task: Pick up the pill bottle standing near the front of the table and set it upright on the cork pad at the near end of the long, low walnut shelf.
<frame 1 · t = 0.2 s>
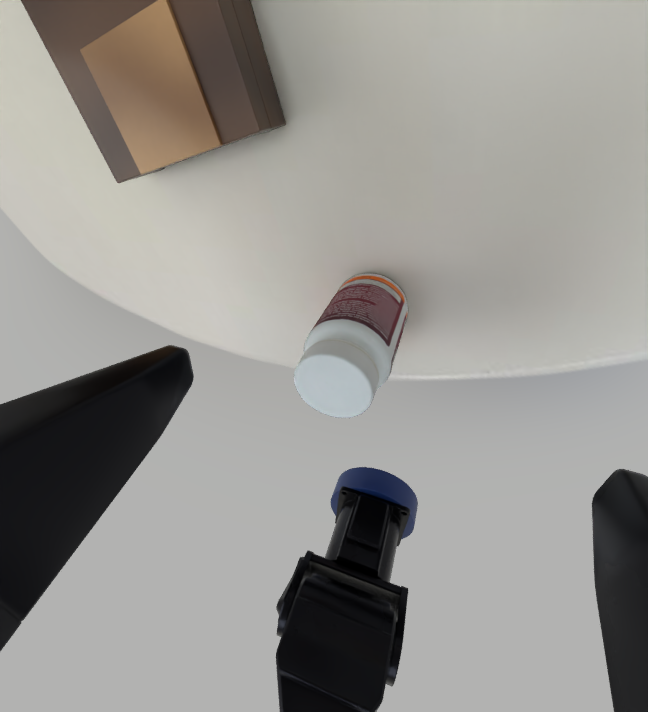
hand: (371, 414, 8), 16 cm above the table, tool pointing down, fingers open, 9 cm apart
pill bottle: (372, 304, 24), on the table
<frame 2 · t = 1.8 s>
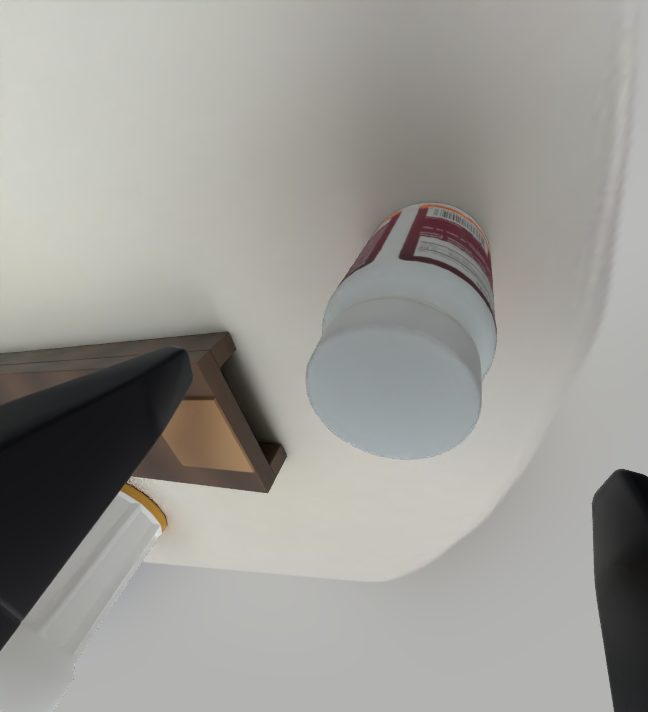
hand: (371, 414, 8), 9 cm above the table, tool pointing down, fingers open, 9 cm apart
shelf: (105, 400, 29), on the table
cup: (131, 502, 40), on the table
pill bottle: (427, 260, 15), on the table
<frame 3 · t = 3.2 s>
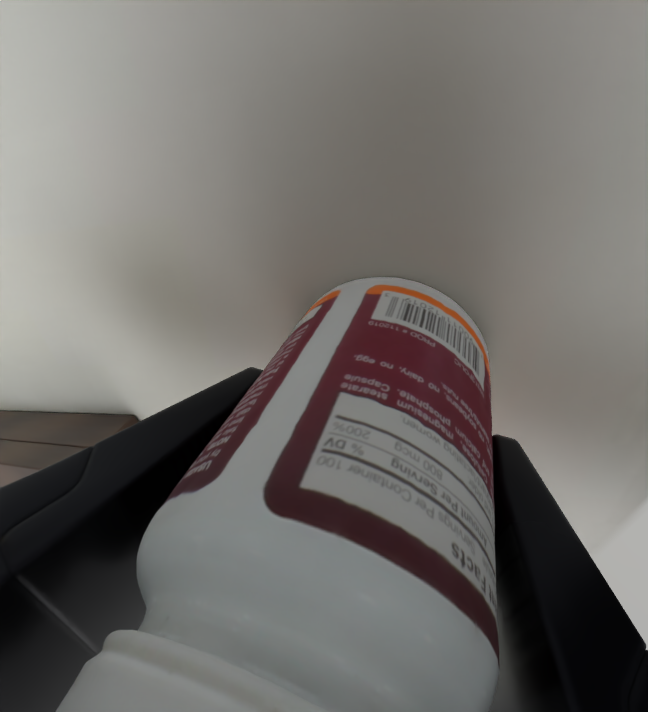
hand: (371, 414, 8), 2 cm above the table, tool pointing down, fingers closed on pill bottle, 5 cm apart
shelf: (18, 468, 24), on the table
pill bottle: (391, 355, 10), on the table, touching gripper
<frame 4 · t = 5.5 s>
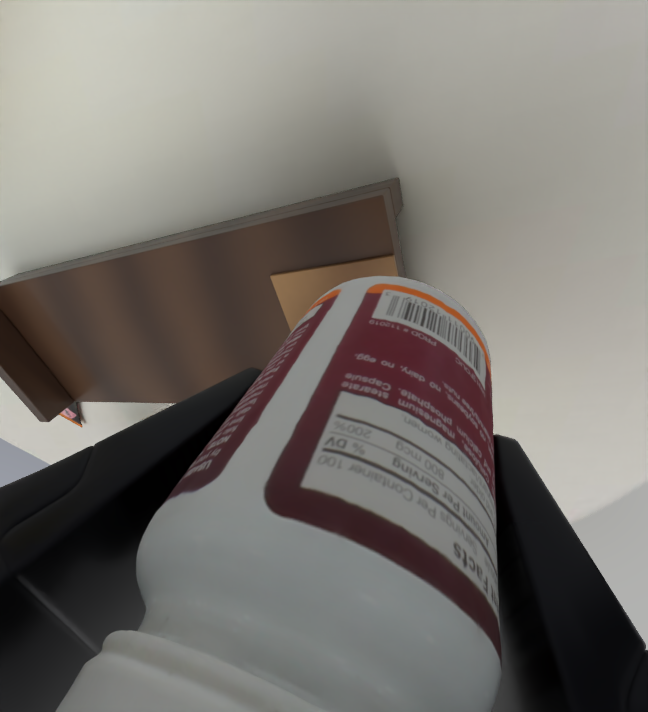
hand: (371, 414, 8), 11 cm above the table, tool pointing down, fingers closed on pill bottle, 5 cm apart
chocolate bar: (59, 379, 35), on the table
shelf: (192, 314, 24), on the table
pill bottle: (391, 354, 10), point 9 cm above the table, touching gripper
when the fingers open (5 cm above the table, at t = 7.7 s): pill bottle stays where it is, resting on shelf.
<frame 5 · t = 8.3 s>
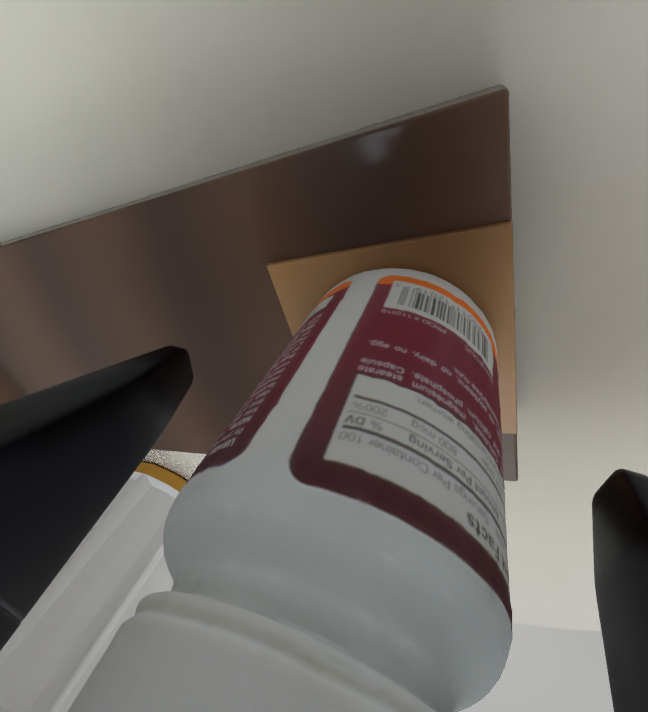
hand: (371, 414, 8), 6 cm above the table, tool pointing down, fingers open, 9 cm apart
shelf: (155, 324, 17), on the table
cup: (172, 499, 28), on the table
pill bottle: (399, 346, 10), point 3 cm above the table, touching shelf
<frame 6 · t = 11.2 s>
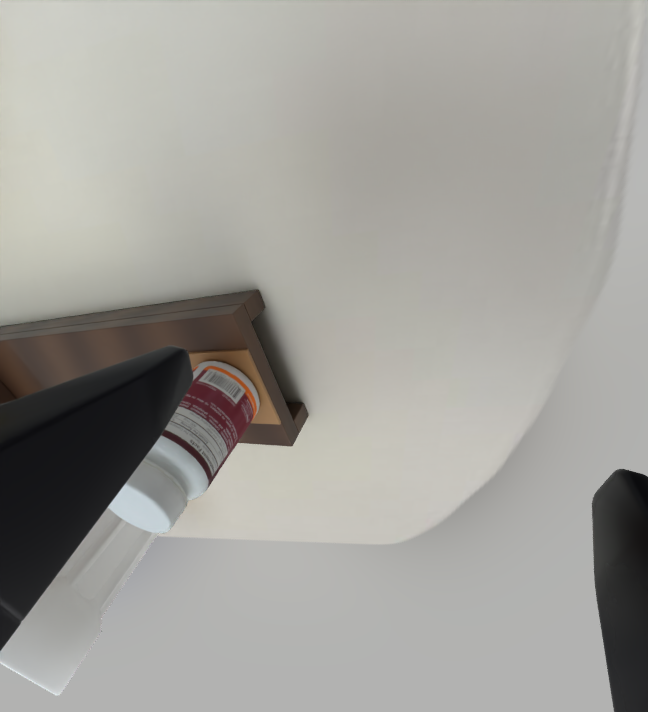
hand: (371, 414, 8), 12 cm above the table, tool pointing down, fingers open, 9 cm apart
shelf: (133, 366, 31), on the table
cup: (151, 473, 42), on the table
pill bottle: (229, 387, 23), point 3 cm above the table, touching shelf
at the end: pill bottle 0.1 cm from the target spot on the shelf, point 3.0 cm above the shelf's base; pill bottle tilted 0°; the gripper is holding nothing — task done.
